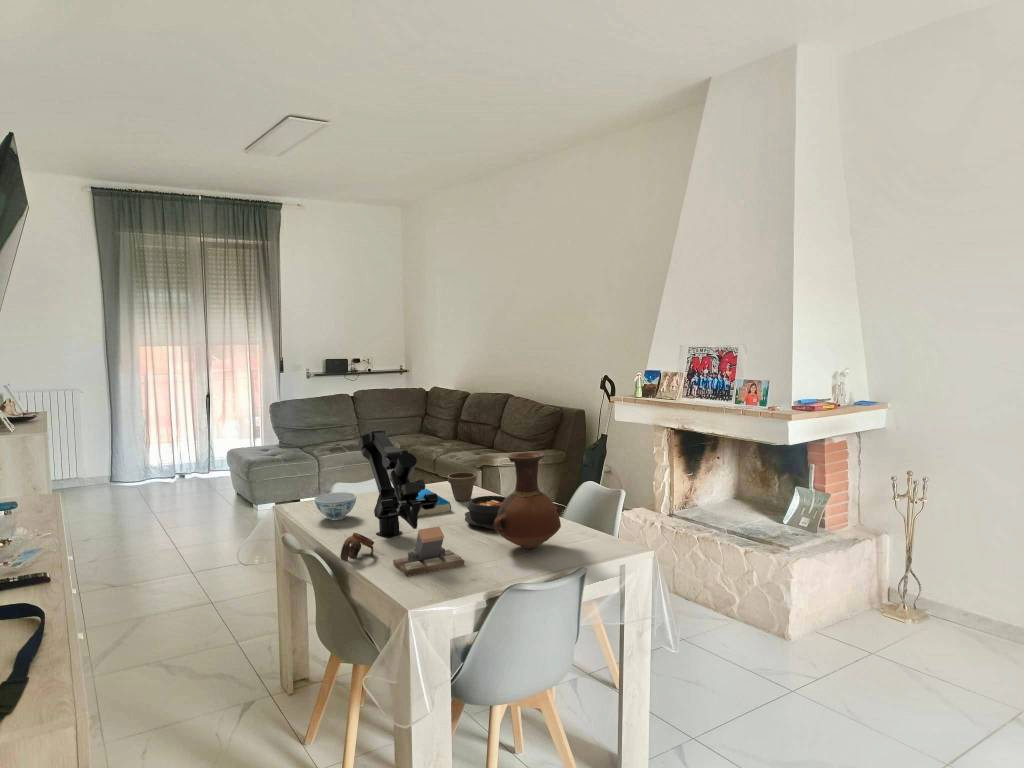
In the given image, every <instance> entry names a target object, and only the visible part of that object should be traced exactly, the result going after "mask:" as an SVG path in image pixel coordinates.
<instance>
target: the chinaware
mask: <svg viewBox="0 0 1024 768" xmlns="http://www.w3.org/2000/svg"><path fill="white" fill-rule="evenodd" d="M356 501H357V494H355V493H353V492H347V491H346V492H345V491H344V492H343V491H340V492H339V491H337V492H335V491H334V492H328V493H324V494H320V495H317V496H316V497H314V504H315V506H316V508H317V510H318V511H319V512H320V513H321V514H322V515H323V516H325V517H326V519H327V518H328V519H341V520H343V519H342V518H344V519H346V516H347V515H348V514H349V513H350V512H351V511H352V510H353V509H354V506H355V504H356ZM328 519H327V520H328Z"/></svg>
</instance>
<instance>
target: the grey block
mask: <svg viewBox="0 0 1024 768" xmlns="http://www.w3.org/2000/svg"><path fill="white" fill-rule="evenodd" d="M444 538H445V534H444V532H443V530H442V528H441V527H440V526H439V525H438V526H433V527H426V528H421V529H418V533H417V536H416V540H415V541H416V542H415V547H414V551H413V552H414V553H416V554H417V559H418V560H424V559H429V558H434V557H439V555H440V551H441V547H442V546H443V543H444ZM442 548H443V547H442Z"/></svg>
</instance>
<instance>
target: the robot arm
mask: <svg viewBox="0 0 1024 768" xmlns="http://www.w3.org/2000/svg"><path fill="white" fill-rule="evenodd" d="M357 442H358V445H357V446H358V449H359V450H360V452H361V455H362V456H363V457H364V458H365V459H367V460H368V461H369V464H370V467H371V471H372V475H373V478H374V480H375V485H376V488H377V490H378V493H379V494H378V497H377V500H376V504H375V507H374V509H373V511H374V512H373V513H374V517H375V518H377V519H378V520H379V521H378V522H379V523H378V525H379V531H377V532H376V533H375V534H376V535H377V536H382V537H385V538H391V537H395V536H397V535H400V534H401V535H402V534H403V531H402V530H400V521H399V517H400V518H402V520H404V521H405V522H406V523H407V524H408V525H409V526H410V527H412V530H416V529H417V528H418V517H419V516H418V513H419V511H420V509H421V507H422V508H423V509H425V510H429V509H434V508H435V507H436V505H437V503H438V501H439V498H438V496H439V495H438V494H437V493H436V492H433V493H431V494H425V495H424V497H423V499H418V500H416V497H418V496H419V495H418V493H419V492H421V490H424V489H426V482H425V481H424V479H423V478H422V479H418V480H416V482H414V481H413V482H412V480H411V477H410V476H411V475H412V474H413V472H414V469H415V467H416V465H417V462H418V461H417V460H418V459H417V457H415V455H413V454H412V453H410V452H409V451H408V450H407V449H405V450H404V449H402V448H399V447H396V446H395V445H394V444H393V443H392V441H391V439H389V437H388V435H387V433H386V431H385V430H384V429H373V430H370V431H369V432H368V433H366V434H364V435H362V436H361V437H360V438H359V440H358V441H357ZM391 470H392V471H391ZM388 471H391V472H390V474H389V472H388ZM389 475H390V476H389ZM410 508H411V511H410Z"/></svg>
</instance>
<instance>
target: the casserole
mask: <svg viewBox="0 0 1024 768" xmlns="http://www.w3.org/2000/svg"><path fill="white" fill-rule="evenodd" d="M506 497H507V496H501V495H484V496H477V497H474V498H471V499H470V500H469V502H468V505H467V506H466V509H467V510H468V511H467V512H465V513H464V516H465V517H464V520H465V522H466V523H467V524H470V525H471V526H472V525H473V526H476V527H480V528H484V527H485V528H487V529H491V530H495V529H494V520H495V519H496V518H497V514H498V511H499V508H500V506H501V504H502V502H503V501H504V500H505V498H506Z"/></svg>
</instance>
